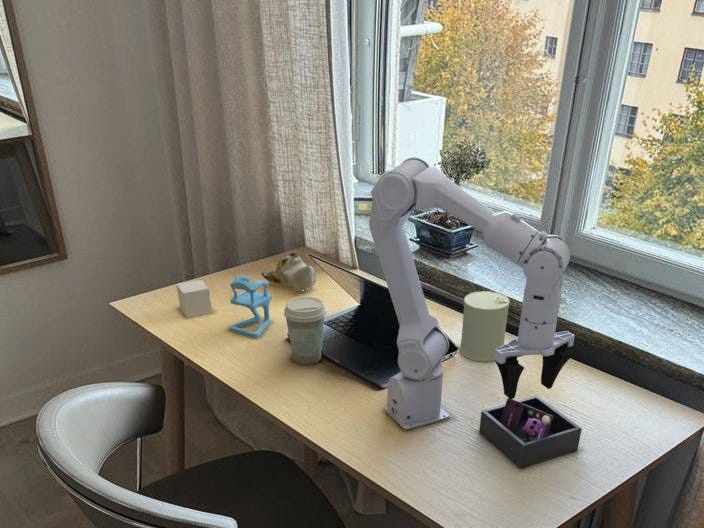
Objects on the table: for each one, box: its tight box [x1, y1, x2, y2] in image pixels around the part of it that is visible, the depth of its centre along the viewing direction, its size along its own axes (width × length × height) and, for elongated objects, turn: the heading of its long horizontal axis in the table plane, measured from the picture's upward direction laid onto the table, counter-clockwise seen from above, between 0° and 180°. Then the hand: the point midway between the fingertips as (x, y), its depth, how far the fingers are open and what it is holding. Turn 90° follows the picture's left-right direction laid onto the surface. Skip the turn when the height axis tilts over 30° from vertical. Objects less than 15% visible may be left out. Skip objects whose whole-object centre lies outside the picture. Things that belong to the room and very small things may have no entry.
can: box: [459, 290, 511, 362], centre depth 160 cm, size 9×9×12 cm
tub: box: [478, 395, 582, 469], centre depth 134 cm, size 12×12×5 cm
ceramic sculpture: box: [260, 252, 317, 294], centre depth 191 cm, size 11×9×15 cm
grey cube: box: [176, 279, 213, 319], centre depth 181 cm, size 6×6×6 cm
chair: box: [228, 275, 273, 339], centre depth 171 cm, size 8×8×12 cm
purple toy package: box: [500, 397, 553, 439], centre depth 134 cm, size 7×5×9 cm
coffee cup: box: [283, 296, 327, 365], centre depth 159 cm, size 8×8×12 cm
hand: (527, 391), depth 131 cm, fingers open, 7 cm apart
